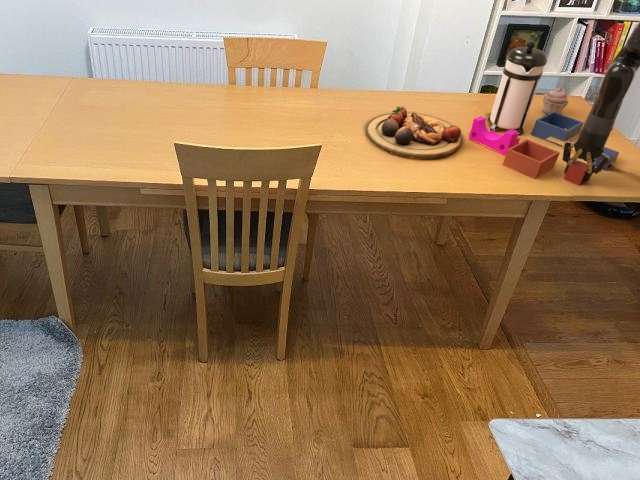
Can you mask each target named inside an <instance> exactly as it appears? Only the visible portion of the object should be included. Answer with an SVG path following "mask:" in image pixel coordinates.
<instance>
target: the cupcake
mask: <svg viewBox="0 0 640 480" xmlns="http://www.w3.org/2000/svg"><path fill="white" fill-rule="evenodd" d="M569 103H570V101H568V95H567V91H566V90H565V88H563V87H561V86H560V87H559V86H558V87H556V88H555V89H554V90H549V91H548V93H547V94H546V96H543V98H542V112H543V113H544V114H545V115H547V114H549V113H551V112H556V113H559V114H562V113H563V111H564V110H565V108H566V107H567V106H569Z"/></svg>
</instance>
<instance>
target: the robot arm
mask: <svg viewBox="0 0 640 480" xmlns="http://www.w3.org/2000/svg"><path fill="white" fill-rule="evenodd" d="M639 69H640V21H639V22H638V23H637V25H636V27H635V28H634V29H633V31H632V33H631V34H630V35H629V37H628V39H626V41H625V43H624V45H623V46H622V48H621V49H620V50H619V51H618V53H617V54H616V56H614V58H613V60H612V61H611V62H610V64H609V65H608V68H607V69H606V72H605V75H604V77H603V79H602V83H601V86H600V89H599V91H598V94H597V95H596V97H595V99H594V102H593V104H592V106H591V109H590V111H589V113H588V114H587V117H586V118H585V121H584V124H583V126H582V129H581V131H580V133H579V136H578V138H577V141H572V140H571V139H569V140H567V141H565V143H564V145H563V153H562V161H563V162H565V163H566V166H565V169H564V171H563V172H564V176H565V175H566V172H567V170H568V168H569V165H570V164H572V163H574V162H575V161H577V160H578V159H579V160H583V161H584V162H586V164H587V172H586V174H585V176H584V178H583V181H582V184H586V183H588V182H590V181H591V178H592V176H593V174H595V175H597V174H599V173H600V172H602V171H603V168H604V167H605V166H606V164H607V163H608V162H609V161H610V159H611V158H612V157H611V156H610V155H609V156H607V155H606V154H604V153H603V152H604V151H603V148H604V147H606V144H607V142H608V139H609V137H610V135H611V132H612V131H613V128H614V125H615V123H616V119H617V117H618V114H619V113H620V110H621V107H622V105H623V102H624V99H625V96H626V94H628V91H629V89H630V87H631V86H632V83H633V81H634V79H635V77H636V73H637V72H638V70H639ZM573 148H574V152H575V153H574V154H573V155H572V156H571V154H572V149H573ZM599 156H600V157H601V159H600V161H601V163H600V164H599V165H598V167H595V164H596V158H598V157H599Z"/></svg>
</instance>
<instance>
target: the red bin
mask: <svg viewBox="0 0 640 480" xmlns="http://www.w3.org/2000/svg"><path fill="white" fill-rule="evenodd" d="M560 154H561V153H560V151H558V150H555V149H553V148H550V147H549V146H545V145H542V144H540V143H538V142H535V141H534V140H533V141H532V140H529V139H527V138H526V139H524V140H522V141H519V144H517V145H515V146H513V147H511V148H509V149H508V150H507V153H506V156H505V155H504V159H503V162H502V166H504V165H505V167H507V168H509V169H511V170H514V171H515V172H518V173H520V174H522V175H525V176H528V177H530V178H532V179H535V180H536V179H538V178H540V177H541V176H542V175H545V174H546V173H548V172H549V171H551V170H552V169H554V168H555V166H556V163H557V161H558V158H559V155H560Z"/></svg>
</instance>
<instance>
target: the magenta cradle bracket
mask: <svg viewBox="0 0 640 480" xmlns="http://www.w3.org/2000/svg"><path fill="white" fill-rule="evenodd" d="M486 119H487V118H486V117H484V116H482V115H480V116H477V117H474V118H473V121H472V124H471V128H470V132H469V135H468V139H469V138H470V139H472V140H474V141H477V142H479V143H481V144H484V145H486V146H488V147H490V148H492V149H494V150H496V151H498V152H500V153H502V154H504V155H503V156H505V155H506V153H507V150H508V149H509V148H511V147H513V146H515V145H517V144H519V143H520V142H521V138H520V137H518V136H519V135H518V133H519V132H517V131H516V130H515V129H508V130H505V132H504V133H503V134H499V133H497V132H496V130H495V131H494V130H492V131H491V130H489V129H488V128H487V124H486V121H487V120H486ZM472 140H471V141H472ZM474 141H473V142H474ZM494 150H493V151H494ZM496 151H495V152H496ZM498 152H497V153H498ZM500 153H499V154H500ZM502 154H501V155H502Z"/></svg>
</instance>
